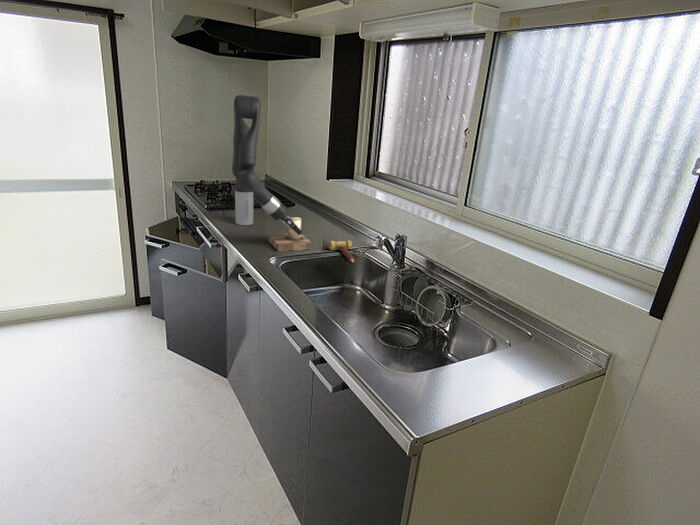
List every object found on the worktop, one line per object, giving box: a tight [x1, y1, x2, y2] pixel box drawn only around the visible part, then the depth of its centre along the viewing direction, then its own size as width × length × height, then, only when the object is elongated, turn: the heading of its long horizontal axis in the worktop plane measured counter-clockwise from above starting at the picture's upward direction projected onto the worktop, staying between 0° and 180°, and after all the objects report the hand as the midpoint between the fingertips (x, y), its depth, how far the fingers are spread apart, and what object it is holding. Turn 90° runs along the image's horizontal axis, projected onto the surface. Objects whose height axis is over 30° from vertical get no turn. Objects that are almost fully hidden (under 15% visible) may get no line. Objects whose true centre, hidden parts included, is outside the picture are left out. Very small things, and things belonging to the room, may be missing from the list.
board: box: [267, 233, 313, 252], centre depth 207 cm, size 16×16×3 cm
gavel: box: [328, 239, 355, 264], centre depth 200 cm, size 21×5×10 cm
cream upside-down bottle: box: [287, 216, 302, 240], centre depth 206 cm, size 6×6×12 cm
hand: (298, 231), depth 207 cm, fingers closed on cream upside-down bottle, 5 cm apart
